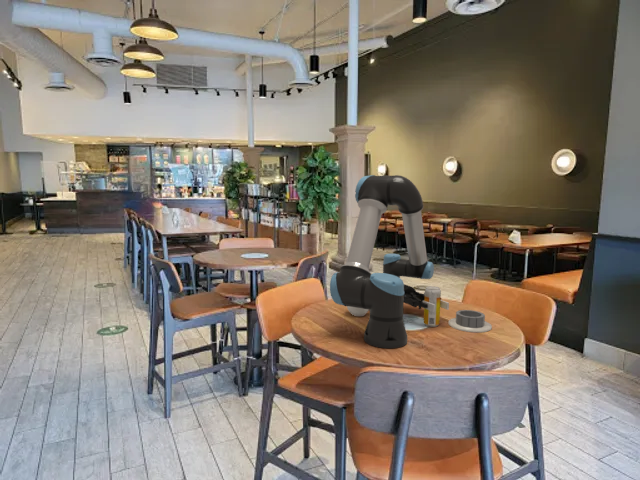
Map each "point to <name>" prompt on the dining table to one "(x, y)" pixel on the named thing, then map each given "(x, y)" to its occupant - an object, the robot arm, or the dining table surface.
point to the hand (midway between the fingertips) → (441, 307)
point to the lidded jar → (357, 311)
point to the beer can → (434, 297)
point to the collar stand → (470, 321)
